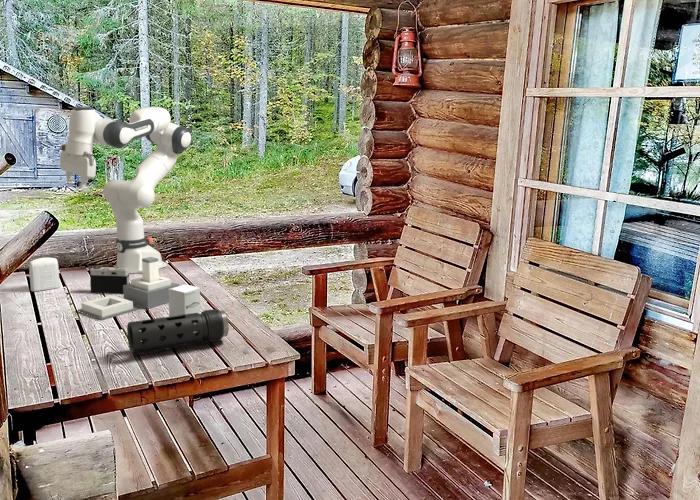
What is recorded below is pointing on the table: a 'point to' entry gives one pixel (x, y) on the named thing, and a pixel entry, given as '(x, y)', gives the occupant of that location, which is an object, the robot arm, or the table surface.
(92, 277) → the camera
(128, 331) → the muzzle brake
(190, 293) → the supplement box
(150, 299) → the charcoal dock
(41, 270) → the photo printer
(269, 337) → the table surface
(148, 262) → the plug
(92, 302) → the frame
